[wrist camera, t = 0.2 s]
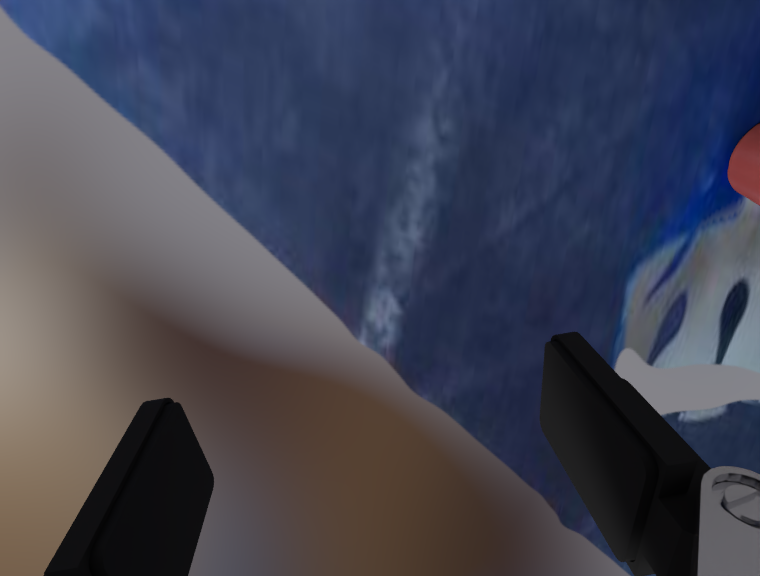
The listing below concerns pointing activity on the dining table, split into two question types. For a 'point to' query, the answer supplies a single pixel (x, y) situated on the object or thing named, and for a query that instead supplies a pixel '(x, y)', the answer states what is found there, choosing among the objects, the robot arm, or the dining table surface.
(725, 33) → the dining table surface
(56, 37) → the dining table surface
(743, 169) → the flower pot
